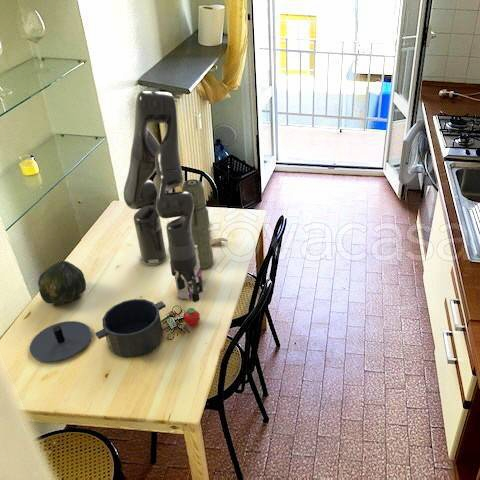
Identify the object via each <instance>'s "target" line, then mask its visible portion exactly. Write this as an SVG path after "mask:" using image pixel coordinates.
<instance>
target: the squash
mask: <svg viewBox="0 0 480 480" xmlns="http://www.w3.org/2000/svg"><path fill="white" fill-rule="evenodd" d="M86 281H87V280H86V277H85V275H84V273H83V271H82V269H80V268H79V266H78V267H77V266H76V265H75V264H73V263H71V262H70V261H67V260H61V261H57V262H55V263H53V264H52V265H50V266H49V267H48V268H46V269H45V270H44V271H43V272H42V273H41V274H40V275H39V277H38V280H37V285H38V292H39V295H40V298H41V299H42V301H43V302H44V303H46V304H54V305H57V306H60V305H63V304H64V303H65V302H67V303H70V302H73V301H74V300H75V299H77V298H79V297H80V296H81V295H82V294H84V293H85V291H86V290H87V282H86Z"/></svg>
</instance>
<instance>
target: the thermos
mask: <svg viewBox="0 0 480 480" xmlns="http://www.w3.org/2000/svg"><path fill="white" fill-rule="evenodd" d="M181 191H187V192H189V193H190V194H191V195H192V196H193V199H194V210H193V215H192V220H191V231H192V238H193V242H194V245H197V247H198V253H199V260H200V268H201V271H205V270H208V269H210V268H212V266H213V265H214V253H213V252H214V251H213V248H212V245H210V237H209V229H210V227H208V226H209V222H210V217H209V210H208V208H207V205H206V195H205V187H204V186H203V184H202V182H201V181H200V180H198V179H193V178H192V179H191V178H190V179H188V180H185V181H183V183H182V189H181Z"/></svg>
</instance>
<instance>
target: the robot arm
mask: <svg viewBox="0 0 480 480" xmlns="http://www.w3.org/2000/svg"><path fill="white" fill-rule="evenodd" d="M134 111H135V113H134V114H135V115H134V130H133V138H132V145H131V149H130V156H129V157H130V160H129V167H128V173H127V177H126V180H125V184H124V187H123V199H124V203H125V204H126V206H127V207H128V208H129V209H130V210H134V211H135V210H137V211H136V212H135V213H134V215H133V224H134V229H135V233H136V238H137V242H138V247H139V252H140V257H141V258H140V259H141V263H142V264H143V265H146V266H157V265H161V264H163V263H164V262H165V261H166V260H167V259H168V256H167V252H166V245H165V239H164V234H163V228H162V221H161V218H162V219H173V218H175V219H173V220H171V221H169V222H168V223H167V224H166V228H165V231H166V237H167V241H168V253H169V259H170V261H169V264H170V270H171V271H170V273H171V276H172V277H174V280H175V279H176V280H177V285H178V289H179V290H181V289H184V288H185V284H186V286H187V287H188V288H190V291H191V295H192V299H191V301H192V303H197V302H199V301H200V299H201V297H200V294H201V293H203V292H204V289H203V282H202V283H201V277H200V276H195V272H194V268H195V266H196V264H197V261H196V253H195V246H194V242H193V238H192V231H191V220H192V215H193V210H194V199H193V196H192V195H191V194H190V193H189V192H187V191H182V190H181V191H174V192H173V191H172V192H169V191H170V190H172V189H175V188H178V187H180V186H181V185H183V184H184V175H183V169H182V165H181V160H180V151H179V150H180V149H179V129H178V127H179V126H178V109H177V103H176V99H175V96H174V95H173V93H171V92H168V91H159V90H142V91H139V92H138V94H137V96H136V100H135V110H134ZM148 124H165V126H166V127H165V128H166V129H165V133H164V136H163V139H162V140H161V143H159V140H158V139H157V138H156V136H155V134H153V133H152V131H151V130H150V127H149V126H148ZM155 172H156V177H157V185H156V184H155V183H154V181H153V180H152V179H150V178H151V177H152V176H153V175H154V173H155ZM174 270H176V271H174ZM184 281H185V282H184ZM188 282H192V283H191V284H189V283H188ZM192 286H193V288H192Z"/></svg>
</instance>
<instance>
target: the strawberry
mask: <svg viewBox="0 0 480 480" xmlns="http://www.w3.org/2000/svg"><path fill="white" fill-rule="evenodd" d="M200 317H201V316H200V313H199V311H198V310H196V309H195V308H194V307H189V308H187V309H186V311H185V313H184V315H183V319H184V322H185V323H186V324H187V326H188V327H189V328H195V327H197V326H198V323H199V321H200Z"/></svg>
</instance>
